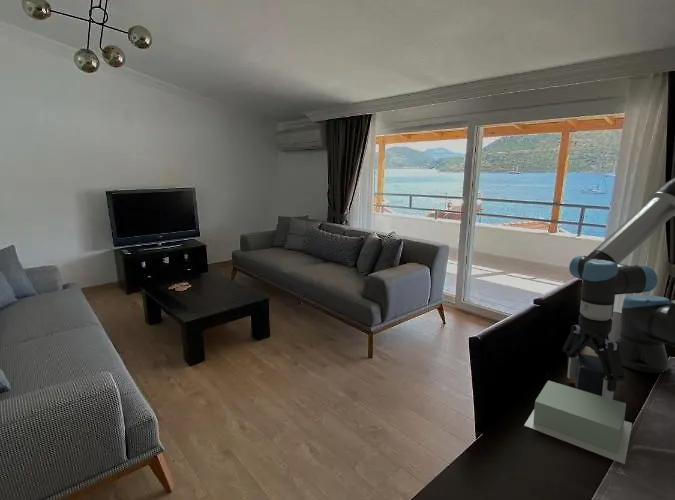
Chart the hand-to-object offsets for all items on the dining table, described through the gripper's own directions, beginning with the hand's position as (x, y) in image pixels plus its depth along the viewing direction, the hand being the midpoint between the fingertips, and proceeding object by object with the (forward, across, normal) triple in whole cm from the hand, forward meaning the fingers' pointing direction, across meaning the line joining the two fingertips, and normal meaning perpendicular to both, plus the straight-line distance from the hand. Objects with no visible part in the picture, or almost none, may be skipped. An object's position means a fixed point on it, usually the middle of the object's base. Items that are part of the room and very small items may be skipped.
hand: (588, 388), depth 105 cm
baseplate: (+2, +12, -14) cm, 19 cm away
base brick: (+1, +12, -14) cm, 18 cm away
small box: (+2, 0, 0) cm, 2 cm away
